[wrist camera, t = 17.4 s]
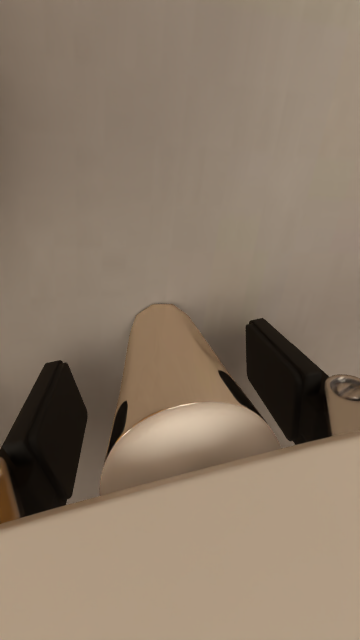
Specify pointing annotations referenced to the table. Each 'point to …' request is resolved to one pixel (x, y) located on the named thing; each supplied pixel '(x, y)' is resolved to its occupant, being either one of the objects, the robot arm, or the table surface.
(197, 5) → the table surface
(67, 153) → the table surface
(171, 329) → the milkshake
